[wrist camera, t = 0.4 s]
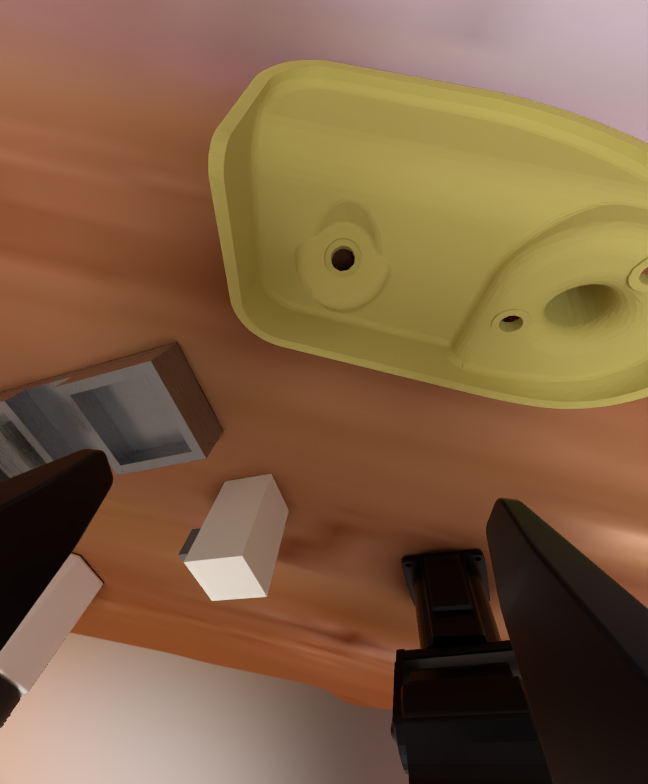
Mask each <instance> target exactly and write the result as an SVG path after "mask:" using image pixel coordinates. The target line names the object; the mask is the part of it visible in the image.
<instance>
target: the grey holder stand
mask: <svg viewBox="0 0 648 784" xmlns="http://www.w3.org/2000/svg"><path fill="white" fill-rule="evenodd" d="M222 433H223V430H222V428H221V426H220V424H219V422H218V420H217V418H216V416H215V415H214V413H213V411H212V409H211V407H210V405H209V403H208V401H207V399H206V397H205V395H204V393H203V391H202V390H201V388H200V386H199V384H198V382H197V380H196V378H195V376H194V374H193V372H192V370H191V368H190V366H189V364H188V363H187V361H186V359H185V357H184V355H183V353H182V351H181V349H180V347H179V345H178V343H177V342H175V343H172V344H168V345H165V346H161V347H158V348H154V349H151V350H147V351H144V352H140V353H136V354H133V355H129V356H126V357H122V358H119V359H115V360H112V361H108V362H105V363H101V364H98V365H94V366H91V367H87V368H84V369H80V370H77V371H73V372H69V373H66V374H62V375H59V376H55V377H52V378H48V379H45V380H41V381H38V382H34V383H31V384H27V385H24V386H20V387H17V388H13V389H10V390H6V391H3V392H0V482H1V481H4V480H6V479H9V478H11V477H14V476H16V475H19V474H21V473H24V472H26V471H29V470H31V469H34V468H37V467H39V466H42V465H44V464H47V463H49V462H52V461H54V460H57V459H59V458H62V457H64V456H67V455H69V454H72V453H74V452H77V451H79V450H82V449H97V450H102V451H104V452H105V454H106V455H107V459H108V462H109V465H111V467H112V468H113V469H114V471H115V472H116V473H117V475H120V474H126V473H131V472H136V471H142V470H147V469H152V468H158V467H163V466H168V465H174V464H179V463H184V462H190V461H195V460H200V459H206V458H207V456H208V455H209V453H210V452H211V450H212V448H213V447H214V445H215V444H216V442H217V441H218V439H219V437H220V436H221V434H222Z"/></svg>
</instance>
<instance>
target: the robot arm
mask: <svg viewBox="0 0 648 784" xmlns="http://www.w3.org/2000/svg"><path fill="white" fill-rule="evenodd" d="M112 483H113V475H112V472H111V468H110V465H109V462H108V459H107V455H106V454H105V452H104V451H102V450H97V449H82V450H79V451H77V452H74V453H72V454H69V455H67V456H64V457H62V458H59V459H57V460H54V461H52V462H49V463H47V464H44V465H42V466H39V467H37V468H34V469H31V470H29V471H26V472H24V473H21V474H19V475H16V476H14V477H11V478H9V479H6V480H4V481H1V482H0V651H1V650H2V649H3V647H4V646H5V644H6V643H7V642H8V640H9V639H10V638H11V636H12V635H13V633H14V632H15V631H16V629H17V628H18V626H19V625H20V624H21V622H22V621H23V619H24V618H25V617H26V615H27V614H28V612H29V611H30V610H31V608H32V607H33V606H34V604H35V603H36V601H37V600H38V599H39V597H40V596H41V594H42V593H43V592H44V590H45V589H46V587H47V586H48V585H49V583H50V582H51V580H52V579H53V578H54V576H55V575H56V574H57V572H58V571H59V569H60V568H61V567H62V565H63V564H64V562H65V561H66V560H67V558H68V557H69V555H70V554H71V552H72V551H73V550H74V548H75V547H76V545H77V543H78V542H79V540H80V539H81V537H82V535H83V534H84V532H85V530H86V529H87V527H88V525H89V524H90V522H91V520H92V518H93V517H94V515H95V513H96V512H97V510H98V508H99V507H100V505H101V503H102V502H103V500H104V498H105V496H106V495H107V493H108V491H109V490H110V488H111V486H112ZM486 535H487V541H488V546H489V551H490V556H491V562H492V567H493V572H494V577H495V582H496V588H497V593H498V598H499V602H500V607H501V611H502V614H503V618H504V621H505V625H506V628H507V631H508V635H509V638H510V640H506V641H501V638H500V635H499V632H498V629H497V626H496V622H495V619H494V616H493V613H492V610H491V606H490V603H489V601H490V595H489V588H488V580H487V573H486V566H485V559H484V555H483V553H482V552H481V551H478V550H475V551H465V552H454V553H444V554H434V555H423V556H413V557H405V558H403V559H402V567H403V570H404V573H405V577H406V580H407V583H408V587H409V590H410V593H411V596H412V600H413V603H414V605H415V607H416V615H417V623H418V631H419V639H420V647H421V649H414V650H404V649H399V650H397V651H396V662H395V669H394V694H393V718H392V724H391V735H392V739H393V740H394V741H395V743H396V744H397V745H398V750H399V754H400V758H401V762H402V765H403V768H404V770H405V772H406V774H408V775H409V784H648V608H646V607H645V606H644V605H643V604H642V603H641V602H639V601H638V600H637V599H636V598H635V597H633V596H632V595H631V594H630V593H629V592H627V591H626V590H625V589H624V588H623V587H622V586H620V585H619V584H618V583H617V582H616V581H614V580H613V579H612V578H611V577H610V576H609V575H607V574H606V573H605V572H604V571H603V570H601V569H600V568H599V567H598V566H597V565H596V564H594V563H593V562H592V561H591V560H590V559H588V558H587V557H586V556H585V555H584V554H583V553H581V552H580V551H579V550H578V549H577V548H575V547H574V546H573V545H572V544H571V543H570V542H568V541H567V540H566V539H565V538H564V537H562V536H561V535H560V534H559V533H558V532H556V531H555V530H554V529H553V528H552V527H551V526H549V525H548V524H547V523H546V522H545V521H543V520H542V519H541V518H540V517H539V516H538V515H536V514H535V513H534V512H533V511H532V510H530V509H529V508H528V507H527V506H526V505H525V504H523V503H522V502H521V501H519V500H516V499H508V498H499V499H497V500H496V502H495V504H494V507H493V509H492V512H491V514H490V517H489V520H488V522H487V526H486Z"/></svg>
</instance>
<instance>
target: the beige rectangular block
mask: <svg viewBox="0 0 648 784" xmlns="http://www.w3.org/2000/svg"><path fill="white" fill-rule="evenodd" d="M288 512H289V510H288V508H287V506H286V504H285V502H284V499H283V497H282V495H281V493H280V491H279V489H278V487H277V485H276V483H275V480H274V478H273V476H272V474H267V475H261V476H255V477H249V478H243V479H237V480H231V481H225V482H224V484H223V486H222V488H221V490H220V492H219V494H218V496H217V498H216V500H215V502H214V504H213V506H212V508H211V510H210V512H209V514H208V516H207V517H206V519H205V521H204V523H203V525H202V527H201V528H199V529H192V531H191V533H190V534H189V536H188V538H187V540H186V542H185V544H184V546H183V548H182V549H181V551H180V553H179V556H180V557H181V559H182V560H183V561H184V563H185V565H186V566H187V567H188V569H189V570H190V572H191V573H192V574H193V576H194V577H195V578H196V580H197V581H198V583H199V584H200V585H201V587H202V588H203V589H204V591H205V592H206V593H207V595H208V596H209V598H210V599H211V600H212V601H216V600H229V599H243V598H256V597H267V595H268V591H269V587H270V583H271V579H272V575H273V571H274V567H275V563H276V559H277V555H278V551H279V547H280V544H281V540H282V536H283V532H284V528H285V524H286V520H287V516H288Z"/></svg>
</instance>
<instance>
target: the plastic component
mask: <svg viewBox="0 0 648 784" xmlns="http://www.w3.org/2000/svg"><path fill="white" fill-rule="evenodd" d="M208 177H209V182H210V188H211V193H212V199H213V205H214V210H215V216H216V222H217V227H218V233H219V239H220V244H221V250H222V256H223V261H224V267H225V273H226V278H227V284H228V290H229V295H230V301H231V305H232V307H233V309H234V312H235V314H236V315H237V317H238V318H239V319H240V321H241V322H242V323H243V324H244V325H245V326H246V327H247V328H248V329H249V330H250V331H251V332H252V333H254V334H255V335H256V336H258V337H259V338H261V339H263V340H265V341H267V342H269V343H272V344H274V345H277V346H281V347H285V348H289V349H293V350H297V351H301V352H305V353H309V354H313V355H317V356H321V357H325V358H329V359H333V360H337V361H342V362H346V363H350V364H354V365H358V366H362V367H366V368H370V369H374V370H378V371H382V372H386V373H390V374H394V375H398V376H402V377H406V378H410V379H414V380H418V381H422V382H426V383H431V384H435V385H439V386H443V387H447V388H451V389H455V390H459V391H463V392H467V393H471V394H476V395H480V396H484V397H489V398H493V399H497V400H502V401H507V402H512V403H517V404H523V405H529V406H536V407H545V408H556V409H581V408H594V407H603V406H609V405H615V404H620V403H625V402H629V401H633V400H637V399H641V398H644V397H647V396H648V274H641V273H642V271H643V270H644V269H646V268H647V267H648V143H646V142H644V141H641V140H639V139H637V138H635V137H633V136H631V135H628V134H626V133H624V132H621V131H619V130H616V129H614V128H612V127H609V126H607V125H604V124H602V123H599V122H597V121H595V120H592V119H589V118H586V117H583V116H580V115H577V114H574V113H571V112H569V111H566V110H563V109H560V108H557V107H553V106H550V105H546V104H543V103H539V102H536V101H532V100H529V99H525V98H521V97H517V96H513V95H509V94H505V93H501V92H496V91H491V90H485V89H480V88H474V87H469V86H463V85H458V84H452V83H447V82H441V81H436V80H430V79H425V78H420V77H414V76H409V75H403V74H398V73H392V72H387V71H381V70H376V69H370V68H365V67H359V66H354V65H348V64H343V63H337V62H332V61H327V60H297V61H289V62H285V63H281V64H277V65H274V66H272V67H270V68H267V69H265V70H263V71H262V72H261V73H259V74H258V75H256V76H255V78H254V79H253V80H252V82H251V83H250V84H249V86H248V87H247V88H246V90H245V91H244V92H243V94H242V95H241V96H240V98H239V99H238V100H237V102H236V103H235V104H234V106H233V107H232V108H231V110H230V111H229V112H228V114H227V115H226V116H225V118H224V119H223V121H222V122H221V123H220V125H219V126H218V127H217V129H216V130H215V132H214V134H213V137H212V139H211V143H210V149H209V155H208ZM340 249H348V250H349V251H351V252H352V253H353V255H354V257H355V261H354V264H353V265H352V267H351V268H350V269H349V270H345V271H339V270H337V269H335V268H334V267H333V265H332V258H333V255H334V253H335V252H337V251H338V250H340ZM514 315H515V316H518V317H519V318H518V319H517V320H515V321H513V322H504V321H501V320H502V319H504V318H505V317H507V316H514Z"/></svg>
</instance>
